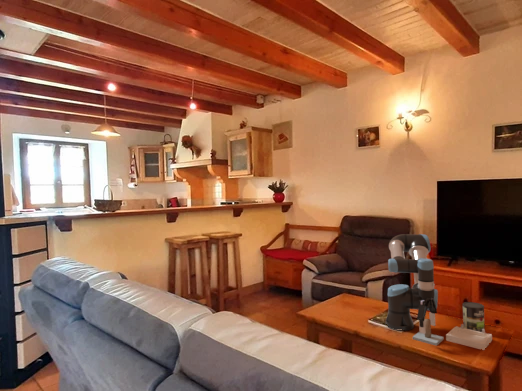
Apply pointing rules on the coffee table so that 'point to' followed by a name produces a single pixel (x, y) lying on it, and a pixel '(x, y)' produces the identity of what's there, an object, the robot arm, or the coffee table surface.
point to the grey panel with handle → (428, 335)
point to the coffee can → (473, 316)
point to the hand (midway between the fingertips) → (427, 329)
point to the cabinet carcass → (469, 337)
